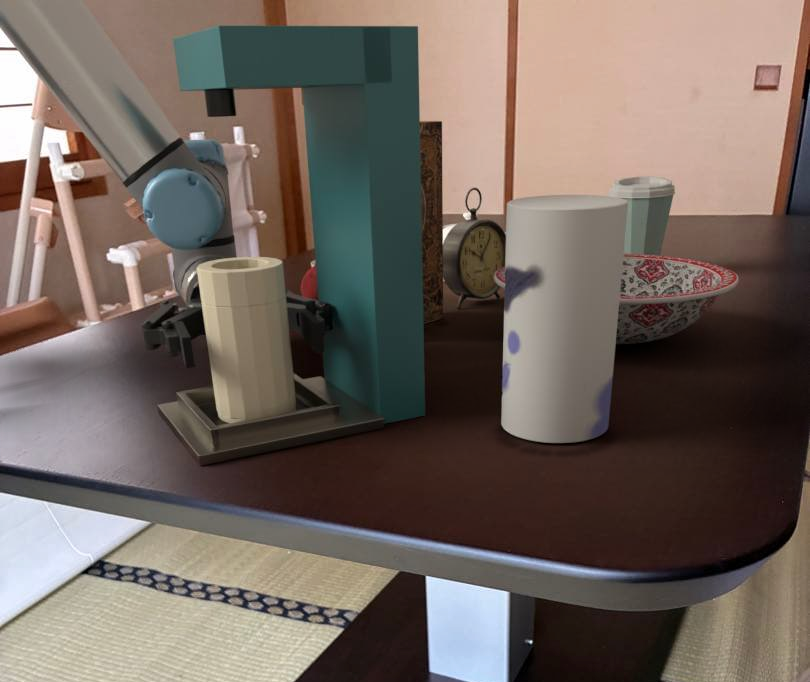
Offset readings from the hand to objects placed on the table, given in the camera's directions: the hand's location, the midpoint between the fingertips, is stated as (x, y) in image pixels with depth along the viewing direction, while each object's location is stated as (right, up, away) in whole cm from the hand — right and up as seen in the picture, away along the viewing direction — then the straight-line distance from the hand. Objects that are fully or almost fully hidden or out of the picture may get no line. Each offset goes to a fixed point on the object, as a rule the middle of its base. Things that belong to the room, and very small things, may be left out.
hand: (255, 345), depth 75 cm
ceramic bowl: (+39, +8, +31) cm, 51 cm away
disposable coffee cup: (+52, +27, +67) cm, 89 cm away
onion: (+1, +15, +47) cm, 50 cm away
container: (+28, -7, +4) cm, 29 cm away
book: (+12, +12, +40) cm, 44 cm away
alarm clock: (+24, +18, +51) cm, 59 cm away
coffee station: (+2, -5, +9) cm, 10 cm away
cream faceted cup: (-1, -5, +7) cm, 9 cm away
